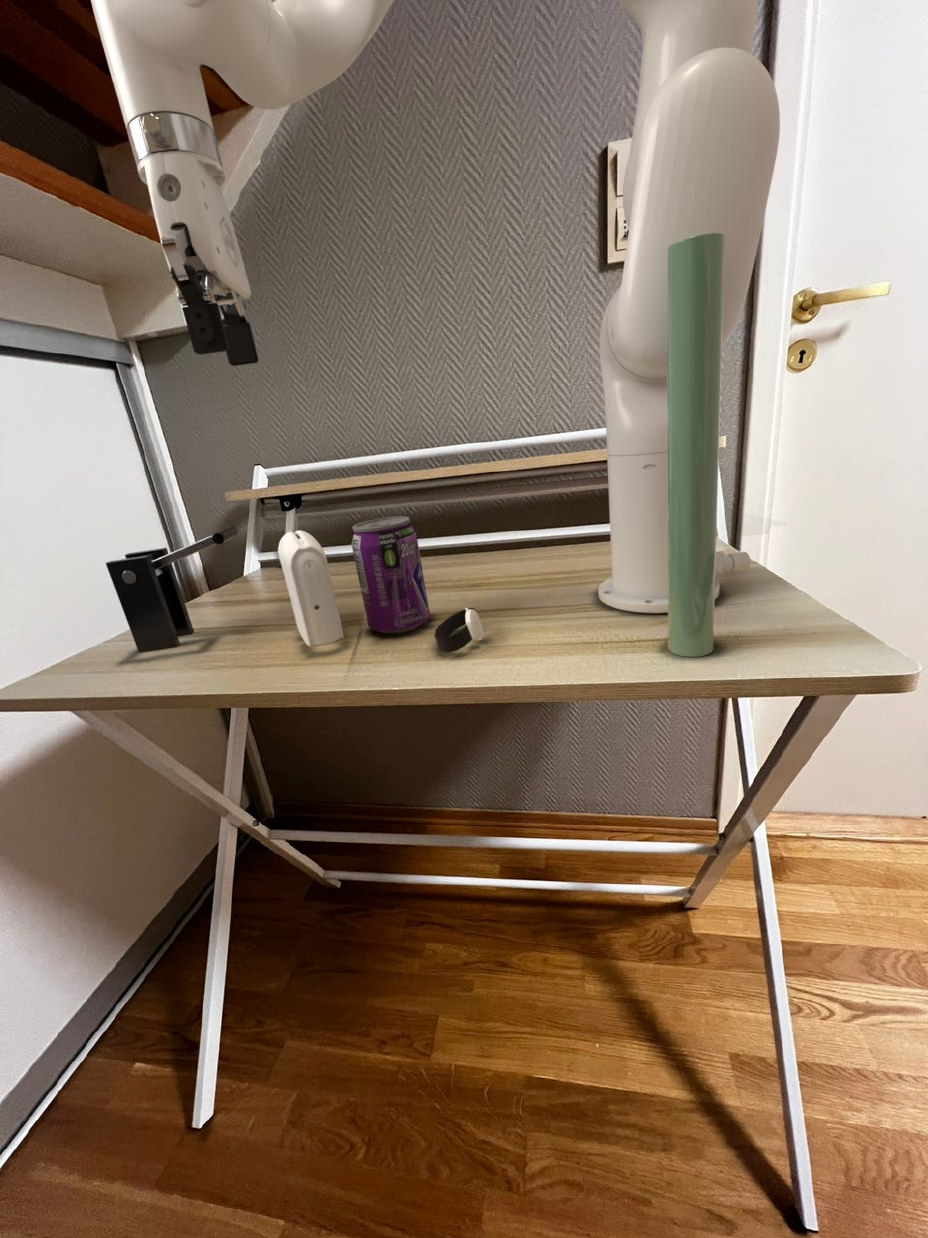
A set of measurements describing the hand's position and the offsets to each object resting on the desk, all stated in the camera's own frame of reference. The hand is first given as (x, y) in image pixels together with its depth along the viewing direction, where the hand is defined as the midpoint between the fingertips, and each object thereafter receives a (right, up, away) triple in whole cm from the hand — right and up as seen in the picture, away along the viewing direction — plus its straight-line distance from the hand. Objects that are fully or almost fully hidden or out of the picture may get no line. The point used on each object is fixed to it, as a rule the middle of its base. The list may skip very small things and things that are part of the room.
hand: (229, 358), depth 56 cm
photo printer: (+8, -30, +5) cm, 31 cm away
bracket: (-11, -31, +8) cm, 34 cm away
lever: (-7, -21, +5) cm, 23 cm away
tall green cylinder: (+44, -30, -10) cm, 54 cm away
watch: (+24, -30, -1) cm, 38 cm away
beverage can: (+17, -28, +5) cm, 34 cm away
